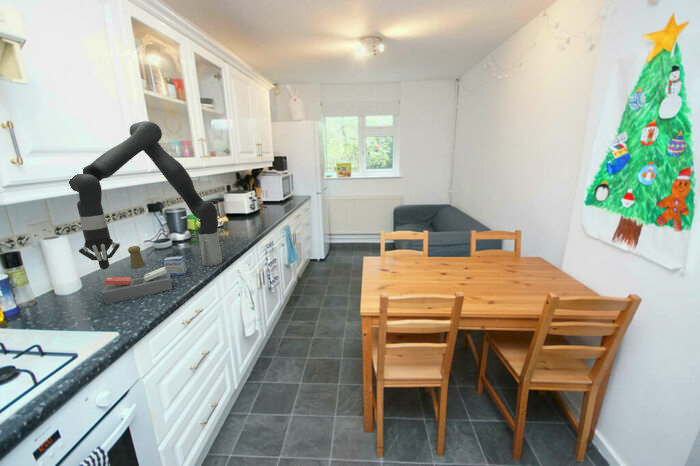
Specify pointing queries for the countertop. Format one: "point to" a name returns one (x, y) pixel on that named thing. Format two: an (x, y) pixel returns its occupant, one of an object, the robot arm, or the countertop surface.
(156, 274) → the white rocker
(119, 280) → the block
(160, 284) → the rocker switch panel
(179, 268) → the medicine box
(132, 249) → the cork
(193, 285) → the countertop surface
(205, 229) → the robot arm
